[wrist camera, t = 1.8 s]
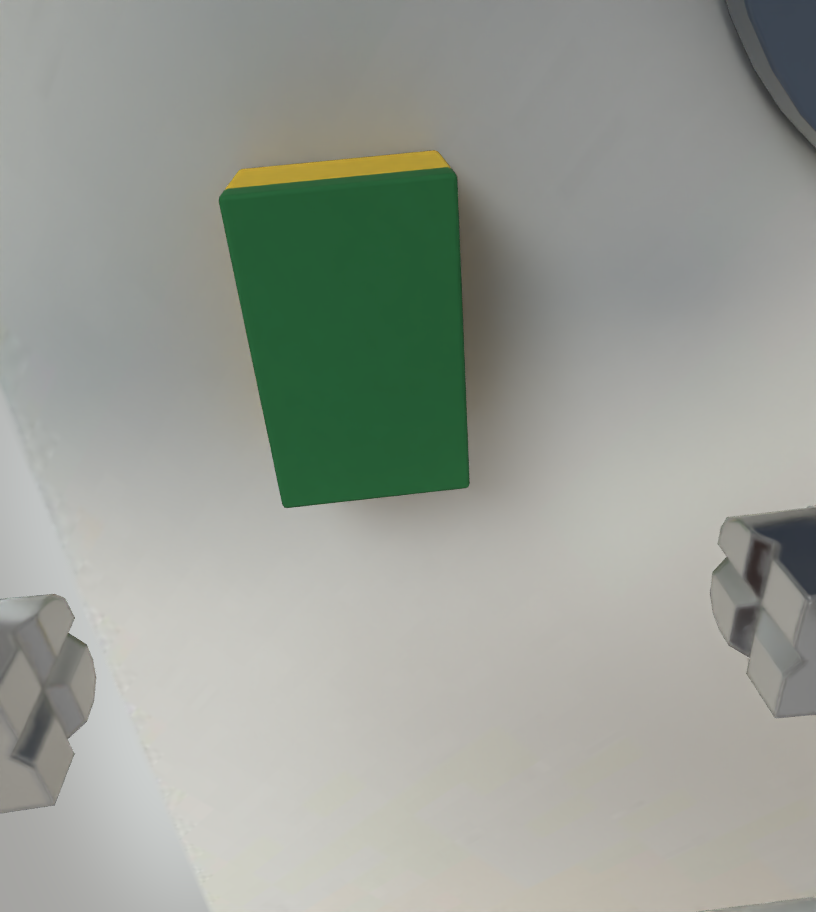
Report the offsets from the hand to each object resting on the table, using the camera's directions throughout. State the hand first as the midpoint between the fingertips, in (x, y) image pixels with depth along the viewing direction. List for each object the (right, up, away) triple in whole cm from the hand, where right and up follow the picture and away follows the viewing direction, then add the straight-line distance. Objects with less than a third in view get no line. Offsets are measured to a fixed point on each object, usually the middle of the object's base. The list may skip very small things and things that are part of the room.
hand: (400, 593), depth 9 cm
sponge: (-1, +5, +8) cm, 10 cm away
